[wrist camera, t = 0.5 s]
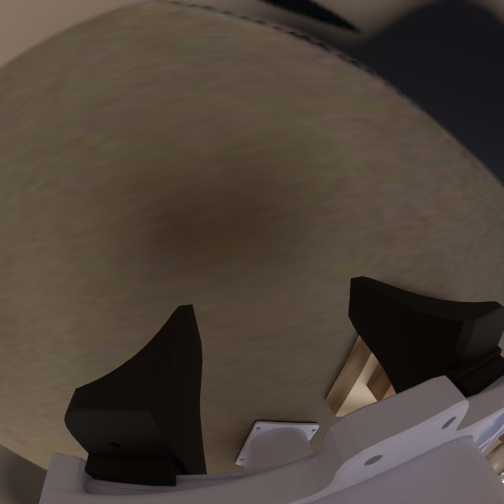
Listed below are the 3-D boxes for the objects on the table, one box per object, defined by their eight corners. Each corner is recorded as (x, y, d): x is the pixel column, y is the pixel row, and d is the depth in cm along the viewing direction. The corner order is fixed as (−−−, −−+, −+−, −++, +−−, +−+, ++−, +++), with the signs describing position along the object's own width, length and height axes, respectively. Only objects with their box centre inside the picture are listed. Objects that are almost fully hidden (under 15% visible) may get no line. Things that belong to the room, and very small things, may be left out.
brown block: (399, 384, 25) (413, 401, 22) (365, 385, 24) (379, 403, 21) (421, 346, 24) (438, 361, 21) (388, 343, 23) (405, 360, 20)
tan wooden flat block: (395, 397, 30) (406, 411, 27) (325, 398, 28) (334, 416, 25) (446, 302, 27) (462, 312, 24) (380, 285, 25) (397, 297, 22)
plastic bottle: (434, 413, 33) (495, 488, 14) (463, 390, 34) (527, 457, 14) (432, 430, 35) (485, 499, 16) (459, 409, 35) (515, 471, 16)
